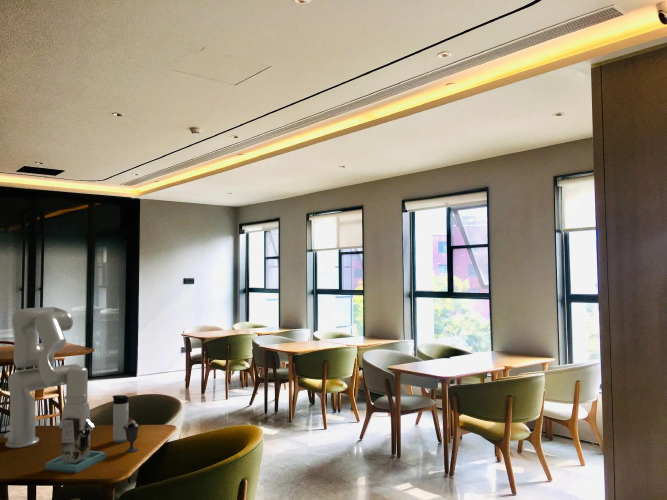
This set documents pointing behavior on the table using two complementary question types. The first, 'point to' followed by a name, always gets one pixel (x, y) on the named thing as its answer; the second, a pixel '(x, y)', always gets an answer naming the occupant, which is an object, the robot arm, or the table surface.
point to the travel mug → (120, 418)
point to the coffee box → (73, 441)
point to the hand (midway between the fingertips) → (76, 445)
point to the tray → (75, 467)
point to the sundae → (131, 433)
